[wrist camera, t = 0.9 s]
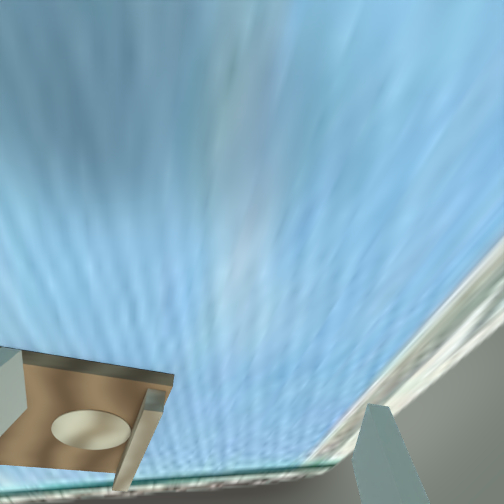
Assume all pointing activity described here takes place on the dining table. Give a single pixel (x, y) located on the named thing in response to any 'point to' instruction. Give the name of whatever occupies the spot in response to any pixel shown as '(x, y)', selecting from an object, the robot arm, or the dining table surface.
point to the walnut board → (85, 416)
